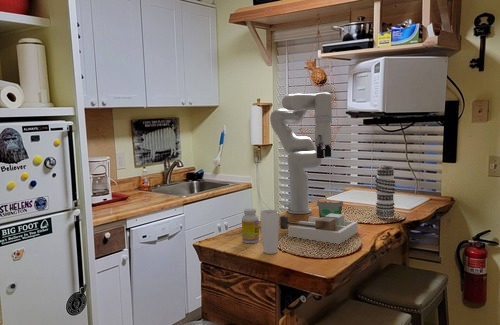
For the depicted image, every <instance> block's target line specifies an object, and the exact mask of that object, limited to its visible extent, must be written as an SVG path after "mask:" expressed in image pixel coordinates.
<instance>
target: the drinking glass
mask: <svg viewBox="0 0 500 325" xmlns="http://www.w3.org/2000/svg"><path fill="white" fill-rule="evenodd" d="M259 217H260V230H261V240H262V251H263V253H264V254H266V255H273V254H277V253H278V251H279V232H280V212H279V211H278V210H276V209H264V210H261V211H260V216H259Z"/></svg>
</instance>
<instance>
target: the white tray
mask: <svg viewBox="0 0 500 325" xmlns="http://www.w3.org/2000/svg"><path fill="white" fill-rule="evenodd" d="M319 218H320V216H319V217H318V216H308V221H303V220H298V223H299V224H307V225H315V220H317V219H319ZM358 227H359V224H358V221H354V220H353V221H352V220H345V219H344V226H338V225H336V232H335V231H327V230H320V229H315V227H307V226H299V225H288V229H287V230H288V237H289V236H293V237H297V238H296V239H299V238H302V239H301V240H306V239H309V240H308V241H312V240H316V241H315V242H319V241H323V242H322V243H326V242H330V243H329V244H332V243H336V244H335V245H339V244H340V243H341V244H343V243H344V242H345V240H346V241H347V240H349V239H350V238H352V237H353V236H355V235H356V234H358V231H359V229H358ZM351 236H352V237H351ZM348 238H349V239H348ZM342 242H343V243H342ZM341 244H340V245H341Z"/></svg>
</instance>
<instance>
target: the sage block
mask: <svg viewBox="0 0 500 325" xmlns="http://www.w3.org/2000/svg"><path fill="white" fill-rule="evenodd" d="M325 217H326V218H334V219H335V225H338V226H344V220H345V214H342V213H341V214H332V213H330V214H328V215H326V216H325Z"/></svg>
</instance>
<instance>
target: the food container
mask: <svg viewBox="0 0 500 325" xmlns="http://www.w3.org/2000/svg"><path fill="white" fill-rule="evenodd" d="M316 206H317V207H318V213H319V214H318V215H319V218H321V217H325V216H326V215H328V214H330V213H332V214H341V215H342V210H343V206H344V201H343V200H340V201H338V202H336V201H319V200H317V202H316Z"/></svg>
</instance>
